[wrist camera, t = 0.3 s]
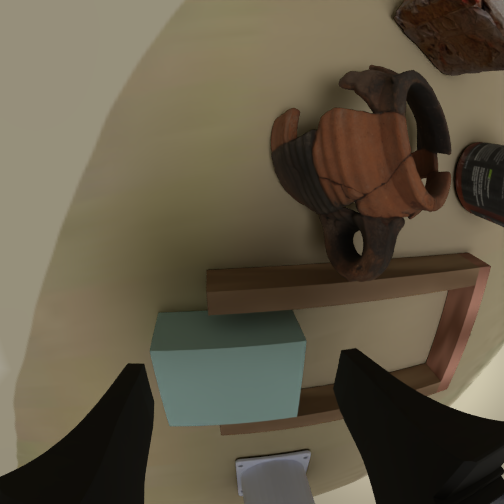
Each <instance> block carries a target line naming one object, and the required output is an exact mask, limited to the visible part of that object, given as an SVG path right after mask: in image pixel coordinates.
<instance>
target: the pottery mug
mask: <svg viewBox="0 0 504 504" xmlns="http://www.w3.org/2000/svg"><path fill="white" fill-rule="evenodd" d="M369 69H370V70H365V71H362V72H356V71H350V72H348V73H346V75H344V76H343V77H342V78H341V79H340V81H339V86H340V87H341V88H343V89H348V90H354V91H355V93H356V94H357V95H359V96H360V97H361V98H362V99H363V100H364V101H365V102H366V103H367V104H368V106H369V108H370V109H371V110H372V112H373V113H368V112H365V111H356V110H351V109H344V108H337V107H335V108H333V109H332V110H330V111H328V112H326V113H325V114H324V115H323V116H322V117H321V119H320V122H319V125H318V129H317V130H311V131H309V132H307V133H305V134H304V135H303V136H301V137H298V138H297V128H298V120H299V115H300V111H299V110H298V109H296V108H292V109H289V110H287V111H286V112H285V113H284V114H282V115H281V116H280V117H278V118H277V119H276V120H275V121H274V125H273V128H272V135H271V150H272V159H273V164H274V167H275V172H276V174H277V176H278V178H279V180H280V182H281V184H282V186H283V187H284V189H285V190H286V191H287V192H288V193H289V194H290V195H291V196H292V197H293V198H294V199H295V200H297V201H298V202H299V203H301V204H303V205H305V206H307V207H308V208H310V209H311V210H313V211H315V212H316V213H317V214H319V218H320V220H321V222H322V225H323V230H324V239H325V247H326V252H327V255H328V258H329V260H330V262H331V264H332V266H333V267H334V269H335V270H336V271H337V272H338V273H340V275H342V276H343V277H344V278H346V280H347V281H348V282H354V281H359V282H364V281H371V280H374V279H376V278H377V277H378V276H380V275H381V274H382V273H383V272H384V271H385V270H386V268H387V267H388V265H389V263H390V261H391V258H392V255H393V252H394V247H395V243H396V239H397V235H398V233H399V231H400V230H401V229H402V227H403V226H404V224H405V220H404V218H402V217H408V218H409V219H412V218H414V217H415V216H416V215H417V214H419V213H420V212H421V211H422V210H427V211H429V212H432V211H437V210H438V209H440V208H441V207H442V206H443V204H444V203H445V201H446V198H447V196H448V193H449V189H450V185H451V174H450V172H438V159H437V153H442V154H448V155H450V154H451V142H450V136H449V131H448V126H447V122H446V119H445V116H444V113H443V110H442V108H441V106H440V103H439V101H438V100H437V97H436V95H435V93H434V91H433V89H432V87H431V86H430V85H429V84H428V82H427V81H426V79H425V78H424V77H423V76H422V75H421V74H419V73H418V72H416V71H414V70H411V71H410V70H409V71H406V72H403V73H400V74H398V73H396V72H394V71H392V70H390V69H386V68H384V67H380V66H374V65H370V66H369ZM406 101H407V103H408V105H409V106H410V108H411V110H412V112H413V114H414V117H415V120H416V123H417V124H416V125H417V151H415V152H413V153H411V147H410V142H409V137H408V130H407V124H406V117H405V112H406ZM422 178H427V179H426V185H425V187H424V185H423V183H422V181H421V179H422ZM353 202H355V204H356V208H357V210H358V211H359V212H360V213H358V212H356V211H354V210H351V209H348V208H346V207H343V206H346V205H348V204H351V203H353ZM359 230H360V231H361V234H362V237H363V252H362V255H361V256H360V255H359V254H358V253H357V251H356V249H355V247H354V244H353V237H354V234H355V233H356V232H357V231H359Z"/></svg>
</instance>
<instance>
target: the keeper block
mask: <svg viewBox="0 0 504 504" xmlns="http://www.w3.org/2000/svg"><path fill="white" fill-rule="evenodd" d="M305 350H306V339H305V336H304V334H303V332H302V330H301V328H300V326H299V323H298V321H297V319H296V317H295V315H294V313H293V311H292V310H281V311H269V312H255V313H241V314H224V315H208V311H188V312H162V313H158V317H157V321H156V325H155V329H154V334H153V338H152V343H151V347H150V355H151V359H152V363H153V367H154V371H155V375H156V379H157V383H158V387H159V391H160V394H161V398H162V402H163V405H164V409H165V412H166V416H167V419H168V422H169V426H206V425H225V424H239V423H250V422H260V421H269V420H277V419H285V418H292V417H297V414H298V406H299V399H300V392H301V384H302V376H303V368H304V359H305Z"/></svg>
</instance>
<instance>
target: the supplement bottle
mask: <svg viewBox="0 0 504 504" xmlns="http://www.w3.org/2000/svg"><path fill="white" fill-rule="evenodd" d="M456 190H457V194H458V197H459V200H460V202H461V204H462V205H463V206H464V208H465V209H466V210H467V211H469V212H470V213H472V214H475V215H476V216H479V217H481V218H484V219H486V220H488V221H491V222H493V223H496V224H498V225H500V226H502V227H504V145H498V144H491V143H482V142H477V143H473V144H471V145H470V146H468V147H467V148H466V149H465V150H464V152H463V153H462V155H461V157H460V159H459V162H458V165H457V169H456Z"/></svg>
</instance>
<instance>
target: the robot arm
mask: <svg viewBox="0 0 504 504" xmlns="http://www.w3.org/2000/svg"><path fill="white" fill-rule="evenodd" d="M333 390H334V394H335V397H336V400H337V403H338V406H339V409H340V412H341V414H342V416H343V418H344V421H345V423H346V425H347V427H348V429H349V431H350V433H351V435H352V437H353V439H354V441H355V443H356V446H357V448H358V450H359V452H360V454H361V456H362V459H363V461H364V464H365V467H366V470H367V473H368V476H369V479H370V483H371V486H372V489H373V493H374V497H375V500H376V504H504V479H503V478H502V476H501V475H502V474H503V473H504V469H503V468H502V467H501V465H502V464H503V463H504V421H497V420H491V419H486V418H482V417H478V416H474V415H471V414H467V413H464V412H461V411H458V410H456V409H453V408H450V407H448V406H446V405H443V404H441V403H439V402H437V401H435V400H433V399H431V398H429V397H427V396H425V395H423V394H421V393H420V392H418V391H416V390H415V389H413V388H411V387H410V386H408V385H406V384H405V383H403V382H402V381H400V380H399V379H397V378H396V377H395V376H393V375H392V374H390V373H389V372H387V371H386V370H385V369H383V368H382V367H381V366H379V365H378V364H377V363H375V362H374V361H373V360H371V359H370V358H369V357H367V356H366V355H365V354H363V353H362V352H361V351H359V350H358V349H356V348H354V349H348V350H341V354H340V359H339V364H338V369H337V373H336V378H335V382H334V387H333ZM153 418H154V400H153V396H152V392H151V389H150V385H149V381H148V377H147V373H146V369H145V365H144V364H130V363H128V364H127V365H126V366H125V368H124V369H123V370H122V372H121V373H120V374H119V376H118V377H117V379H116V380H115V381H114V383H113V384H112V385H111V387H110V388H109V389H108V390H107V392H106V393H105V394H104V395H103V397H102V398H101V399H100V400H99V402H98V403H97V404H96V405H95V406H94V408H93V409H92V410H91V411H90V412H89V413H88V414H87V415H86V417H85V418H84V419H83V420H82V421H81V422H80V423H79V424H78V425H77V426H76V427H75V428H74V429H73V430H72V431H71V432H70V433H69V434H67V435H66V436H65V437H64V438H63V439H62V440H60V441H59V442H58V443H57V444H55V445H54V446H53V447H51V448H50V449H49V450H48V451H46V452H45V453H43V454H42V455H40V456H39V457H37V458H36V459H34V460H32V461H31V462H29V463H27V464H26V465H24V466H22V467H20V468H18V469H16V470H14V471H12V472H10V473H8V474H5V475H3V476H1V477H0V504H144V482H145V473H146V466H147V460H148V454H149V448H150V442H151V436H152V430H153ZM310 456H311V452H310V451H309V450H306V451H300V452H294V453H287V454H281V455H273V456H265V457H256V458H246V459H238V460H236V462H235V463H236V473H237V484H238V494H239V496H243V498H244V504H315V503H314V500H313V496H312V493H311V489H310V486H309V483H308V479H307V476H306V471H307V467H308V464H309V460H310Z"/></svg>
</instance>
